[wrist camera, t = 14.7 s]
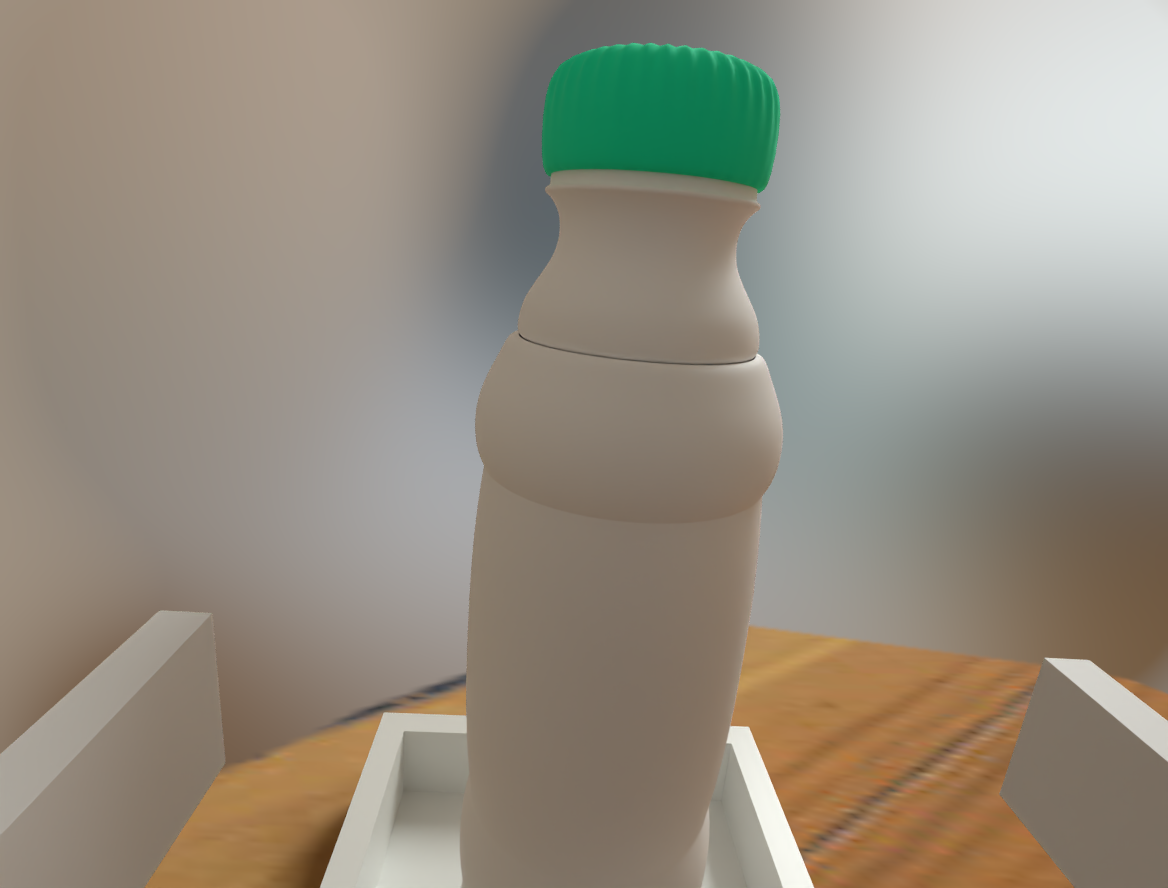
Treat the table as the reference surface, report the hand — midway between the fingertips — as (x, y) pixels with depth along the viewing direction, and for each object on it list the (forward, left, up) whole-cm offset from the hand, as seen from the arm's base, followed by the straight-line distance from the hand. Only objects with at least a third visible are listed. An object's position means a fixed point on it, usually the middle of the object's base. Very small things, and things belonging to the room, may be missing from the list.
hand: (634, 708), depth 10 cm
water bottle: (0, -6, -15) cm, 16 cm away
